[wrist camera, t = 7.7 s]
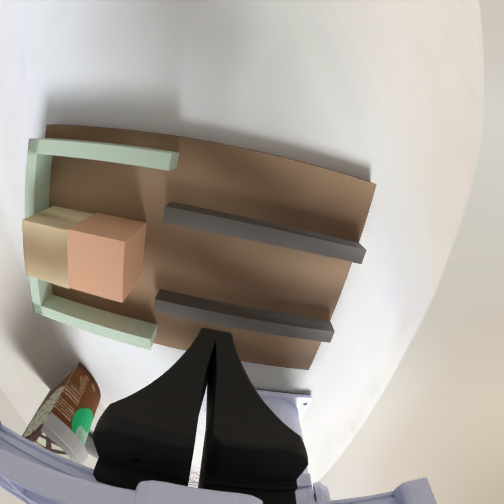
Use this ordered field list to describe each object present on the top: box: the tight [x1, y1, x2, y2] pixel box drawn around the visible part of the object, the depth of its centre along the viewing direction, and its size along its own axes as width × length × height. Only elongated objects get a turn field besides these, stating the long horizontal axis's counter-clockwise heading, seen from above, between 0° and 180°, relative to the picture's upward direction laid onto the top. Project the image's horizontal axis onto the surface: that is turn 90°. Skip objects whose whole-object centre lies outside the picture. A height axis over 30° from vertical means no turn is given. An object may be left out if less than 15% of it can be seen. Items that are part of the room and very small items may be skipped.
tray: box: [25, 138, 179, 349], centre depth 19 cm, size 14×11×2 cm
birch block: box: [22, 206, 93, 289], centre depth 18 cm, size 4×4×4 cm
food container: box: [22, 362, 101, 465], centre depth 22 cm, size 12×6×10 cm, turn 130°
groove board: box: [45, 125, 376, 370], centre depth 20 cm, size 16×24×2 cm, turn 77°
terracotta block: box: [67, 213, 147, 303], centre depth 18 cm, size 4×4×4 cm
